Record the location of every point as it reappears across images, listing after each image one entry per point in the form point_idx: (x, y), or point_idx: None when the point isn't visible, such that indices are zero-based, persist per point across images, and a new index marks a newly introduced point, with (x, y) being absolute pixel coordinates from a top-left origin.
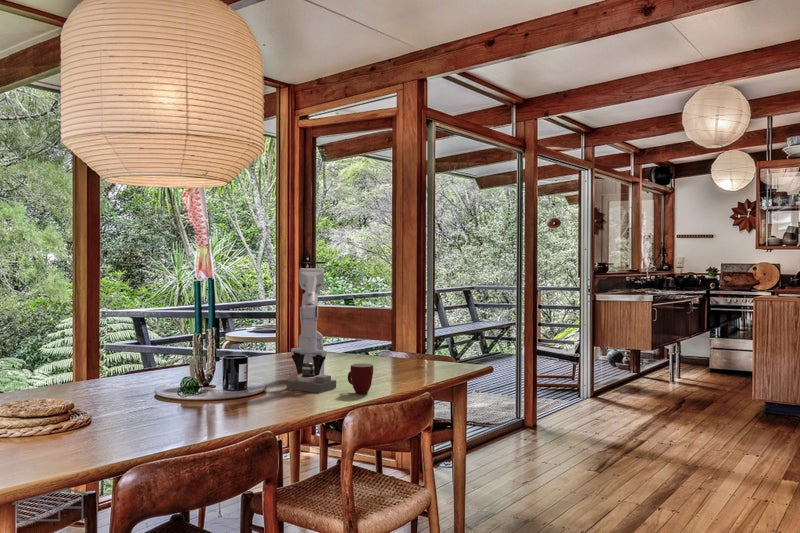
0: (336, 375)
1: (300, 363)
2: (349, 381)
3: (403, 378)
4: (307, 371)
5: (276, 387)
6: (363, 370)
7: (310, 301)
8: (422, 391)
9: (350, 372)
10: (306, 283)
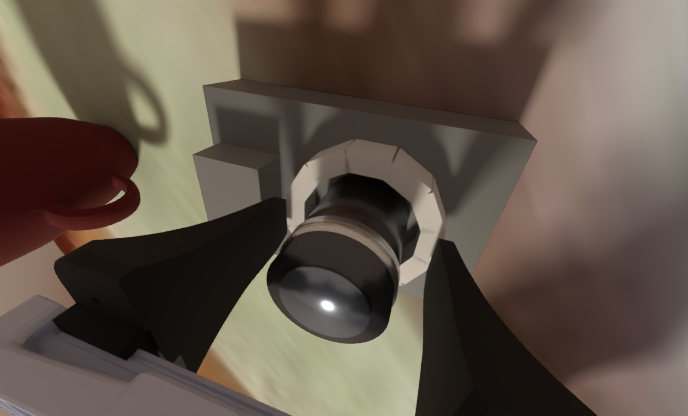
0: (389, 412)
1: (434, 335)
2: (128, 189)
3: (206, 365)
4: (324, 209)
5: (637, 144)
6: None
7: None
8: None
9: (65, 209)
10: None
